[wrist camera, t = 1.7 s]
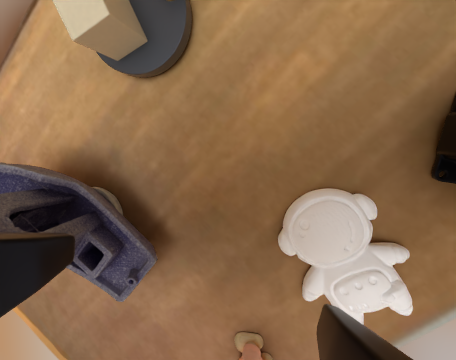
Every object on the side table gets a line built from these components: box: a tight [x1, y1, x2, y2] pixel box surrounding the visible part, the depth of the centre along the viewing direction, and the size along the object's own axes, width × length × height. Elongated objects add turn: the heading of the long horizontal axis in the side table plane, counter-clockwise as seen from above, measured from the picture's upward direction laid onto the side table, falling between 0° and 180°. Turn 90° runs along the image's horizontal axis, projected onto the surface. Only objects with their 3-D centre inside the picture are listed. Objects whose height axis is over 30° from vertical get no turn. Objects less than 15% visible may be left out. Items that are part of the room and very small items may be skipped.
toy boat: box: [0, 163, 158, 302], centre depth 18 cm, size 15×8×13 cm, turn 51°
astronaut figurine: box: [278, 188, 413, 324], centre depth 19 cm, size 9×12×3 cm
